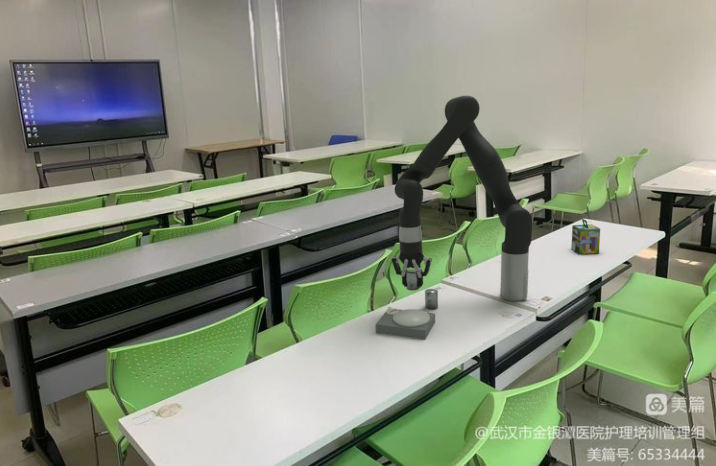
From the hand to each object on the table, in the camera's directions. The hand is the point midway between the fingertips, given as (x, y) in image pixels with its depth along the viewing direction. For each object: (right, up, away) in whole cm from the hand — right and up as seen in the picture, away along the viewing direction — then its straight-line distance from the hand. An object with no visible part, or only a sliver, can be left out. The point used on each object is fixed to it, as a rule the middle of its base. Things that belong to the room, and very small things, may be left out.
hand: (412, 286), depth 181 cm
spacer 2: (+7, -8, +4) cm, 11 cm away
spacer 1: (0, -1, 0) cm, 1 cm away
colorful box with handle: (+83, +10, +57) cm, 101 cm away
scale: (-3, -12, -11) cm, 17 cm away
